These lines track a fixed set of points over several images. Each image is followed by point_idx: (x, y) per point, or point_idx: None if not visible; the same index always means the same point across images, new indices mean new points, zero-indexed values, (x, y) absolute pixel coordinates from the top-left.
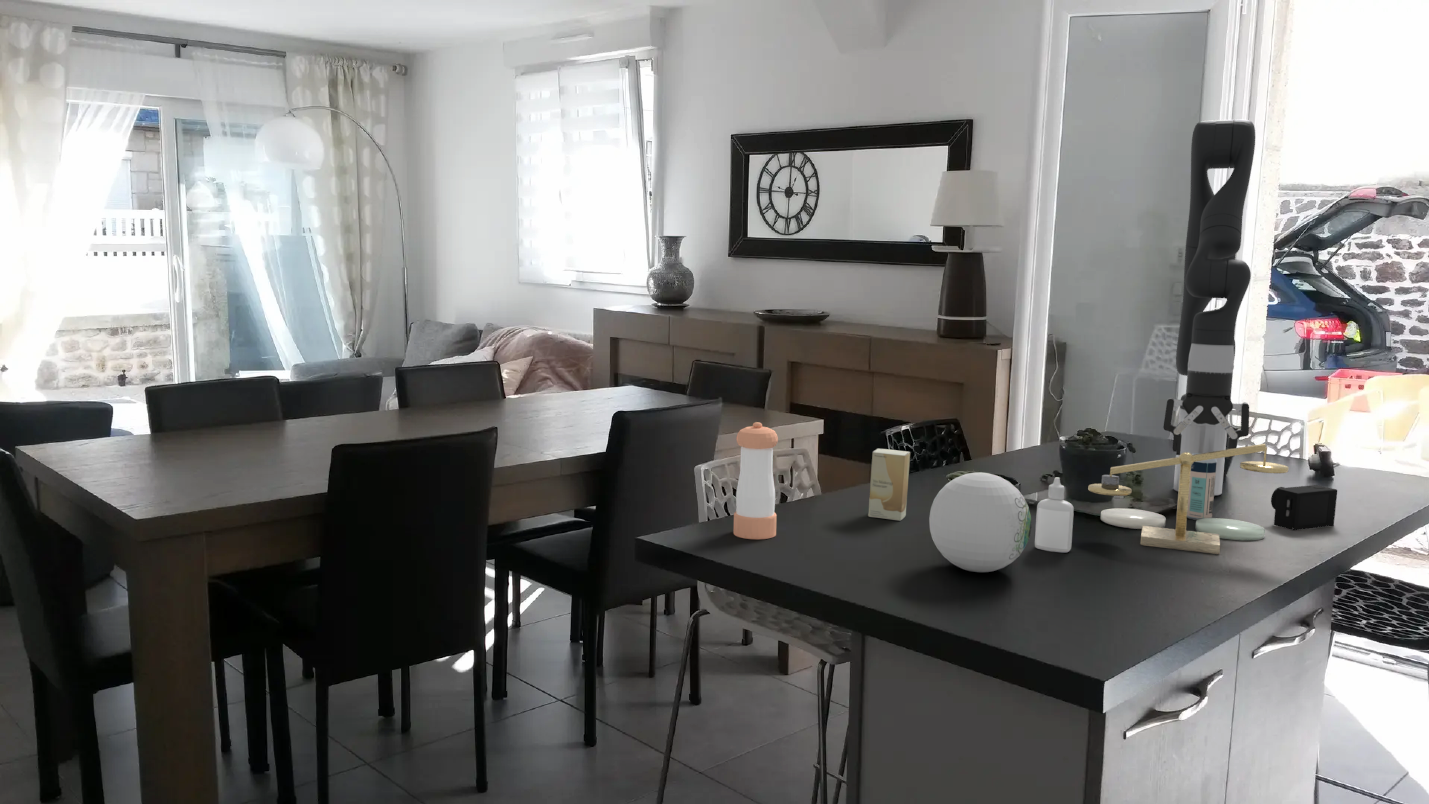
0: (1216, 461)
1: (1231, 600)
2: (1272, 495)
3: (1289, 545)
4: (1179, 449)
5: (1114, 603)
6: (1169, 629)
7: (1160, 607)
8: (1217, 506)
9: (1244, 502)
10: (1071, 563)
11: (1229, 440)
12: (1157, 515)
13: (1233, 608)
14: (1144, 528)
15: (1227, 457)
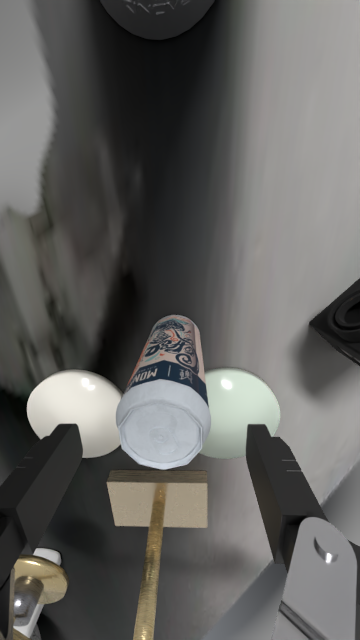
0: (208, 433)
1: (211, 614)
2: (342, 333)
3: (302, 445)
4: (68, 477)
5: (132, 636)
6: None
7: (162, 635)
8: (213, 183)
9: (288, 67)
10: (76, 580)
11: (277, 552)
12: (111, 403)
13: (212, 625)
14: (111, 493)
15: (248, 462)
